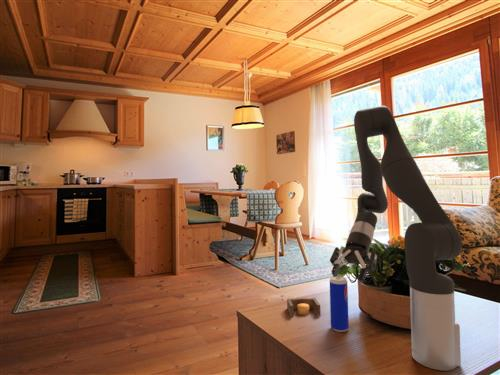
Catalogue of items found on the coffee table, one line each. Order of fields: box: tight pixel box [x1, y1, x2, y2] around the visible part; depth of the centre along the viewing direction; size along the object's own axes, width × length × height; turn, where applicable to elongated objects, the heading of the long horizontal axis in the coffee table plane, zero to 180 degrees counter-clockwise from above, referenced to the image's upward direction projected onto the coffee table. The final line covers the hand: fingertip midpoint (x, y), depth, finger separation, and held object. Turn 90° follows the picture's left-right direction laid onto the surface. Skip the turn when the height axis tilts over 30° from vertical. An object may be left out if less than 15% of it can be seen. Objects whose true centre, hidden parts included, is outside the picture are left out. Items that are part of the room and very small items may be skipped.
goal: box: [286, 297, 321, 318], centre depth 103 cm, size 10×7×4 cm
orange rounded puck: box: [296, 303, 310, 316], centre depth 103 cm, size 4×4×2 cm
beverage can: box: [329, 275, 350, 333], centre depth 90 cm, size 5×5×15 cm
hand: (346, 278), depth 94 cm, fingers open, 8 cm apart
